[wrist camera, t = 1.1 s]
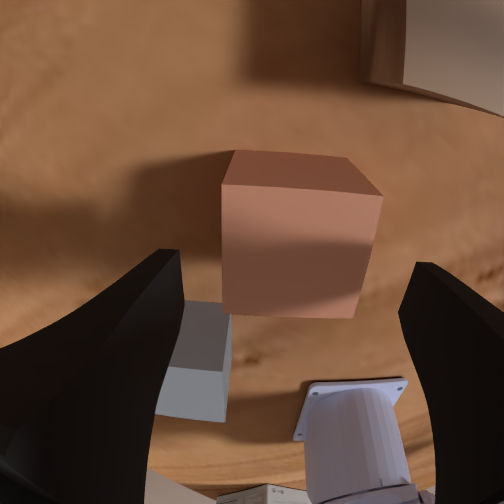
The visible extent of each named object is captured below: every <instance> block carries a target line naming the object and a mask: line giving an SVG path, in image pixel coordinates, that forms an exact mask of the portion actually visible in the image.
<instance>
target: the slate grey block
mask: <svg viewBox="0 0 504 504" xmlns="http://www.w3.org/2000/svg"><path fill="white" fill-rule="evenodd" d="M184 301H185V307H184V312H183V317H182V322H181V327H180V332H179V336H178V339H177V342H176V345H175V348H174V351H173V354H172V357H171V360H170V363H169V366H168V369H167V372H166V375H165V378H164V382H163V385H162V388H161V391H160V394H159V398H158V402H157V406H156V411H155V414H158V415H164V416H171V417H178V418H186V419H194V420H203V421H213V422H224V423H225V418H226V409H227V399H228V390H229V380H230V371H231V362H232V333H231V314H223V303H215V302H200V301H187V300H184Z"/></svg>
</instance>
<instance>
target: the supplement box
mask: <svg viewBox="0 0 504 504" xmlns="http://www.w3.org/2000/svg"><path fill="white" fill-rule="evenodd" d="M217 504H312V503H311V501H310V500H309V498H308V495H307V491H302V490H296V489H291V488H285V487H280V486H275V485H270V484H266V485H263V486H259V487H256V488H252V489H248V490H244V491H240V492H236V493H232V494H227V495H223V496H218V497H217Z"/></svg>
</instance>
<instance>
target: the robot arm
mask: <svg viewBox="0 0 504 504" xmlns="http://www.w3.org/2000/svg"><path fill="white" fill-rule="evenodd" d="M184 307H185V301H184V293H183V283H182V274H181V263H180V252H179V250H174V249H158V250H157V251H155V252H154V253H152V254H151V255H150V256H148V257H147V258H146V259H144V260H143V261H142V262H141V263H139V264H138V265H137V266H136V267H134V268H133V269H132V270H130V271H129V272H128V273H126V274H125V275H124V276H123V277H121V278H120V279H119V280H117V281H116V282H115V283H113V284H112V285H111V286H109V287H108V288H106V289H105V290H104V291H102V292H101V293H99V294H98V295H97V296H95V297H94V298H93V299H91V300H90V301H88V302H87V303H85V304H84V305H82V306H81V307H79V308H78V309H76V310H75V311H73V312H71V313H70V314H68V315H66V316H65V317H63V318H61V319H60V320H58V321H56V322H54V323H53V324H51V325H49V326H47V327H45V328H43V329H41V330H39V331H37V332H35V333H33V334H31V335H29V336H27V337H25V338H23V339H21V340H19V341H17V342H14V343H12V344H10V345H7V346H5V347H3V348H0V504H144V494H145V493H144V492H145V481H146V471H147V462H148V454H149V447H150V440H151V433H152V428H153V422H154V416H155V411H156V406H157V402H158V398H159V394H160V391H161V388H162V385H163V382H164V378H165V375H166V372H167V369H168V366H169V363H170V360H171V357H172V354H173V351H174V348H175V345H176V342H177V339H178V336H179V332H180V327H181V322H182V317H183V312H184ZM398 314H399V319H400V323H401V328H402V332H403V335H404V339H405V342H406V345H407V347H408V350H409V353H410V355H411V358H412V361H413V364H414V366H415V369H416V372H417V374H418V377H419V380H420V383H421V386H422V388H423V391H424V394H425V398H426V401H427V405H428V410H429V415H430V420H431V426H432V432H433V441H434V450H435V466H436V490H435V495H434V494H432V493H430V492H428V491H427V490H421V491H418V490H417V485H416V483H413V484H411V479H410V474H409V470H408V465H407V461H406V456H405V452H404V448H403V444H402V439H401V435H400V431H399V428H398V424H397V420H396V416H395V412H394V409H393V406H394V404H395V403H396V401H397V400H398V398H399V397H400V395H401V394H402V392H403V391H404V389H405V387H406V386H407V384H408V381H407V379H406V378H396V379H383V380H368V381H348V382H315V383H312V384H311V385H310V386H309V389H308V392H307V395H306V398H305V401H304V405H303V408H302V411H301V414H300V417H299V420H298V423H297V426H296V429H295V432H294V435H293V440H295V441H304V453H305V471H306V490H307V495H308V498H309V500H310V501H311V503H312V504H504V312H502V311H501V310H500V309H498V308H497V307H495V306H494V305H493V304H491V303H490V302H488V301H487V300H486V299H484V298H483V297H482V296H480V295H479V294H478V293H476V292H475V291H474V290H472V289H471V288H470V287H468V286H467V285H466V284H464V283H463V282H462V281H460V280H459V279H457V278H456V277H455V276H453V275H452V274H450V273H449V272H447V271H446V270H444V269H443V268H441V267H439V266H438V265H436V264H434V263H432V262H416V264H415V267H414V270H413V273H412V276H411V279H410V281H409V284H408V287H407V290H406V292H405V295H404V298H403V300H402V303H401V306H400V308H399V311H398Z"/></svg>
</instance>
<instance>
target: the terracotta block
mask: <svg viewBox="0 0 504 504" xmlns="http://www.w3.org/2000/svg"><path fill="white" fill-rule="evenodd" d="M383 197H384V196H383V195H382V194H381V193H380V192H379V191H378V190H377V189H376V188H375V186H374V185H373V184H372V183H371V182H370V181H369V180H368V179H367V178H366V177H365V176H364V175H363V174H362V173H361V172H360V171H359V170H358V169H357V168H356V167H355V166H354V165H353V164H352V163H351V162H350V161H349V160H348V159H347V158H342V157H333V156H323V155H312V154H300V153H287V152H272V151H252V150H235V152H234V155H233V157H232V160H231V162H230V165H229V167H228V170H227V172H226V175H225V177H224V180H223V182H222V296H223V314H235V315H253V316H274V317H303V318H353V316H354V312H355V309H356V306H357V302H358V299H359V295H360V292H361V288H362V285H363V281H364V278H365V274H366V270H367V266H368V263H369V259H370V255H371V251H372V247H373V242H374V238H375V234H376V230H377V225H378V221H379V216H380V212H381V207H382V202H383Z"/></svg>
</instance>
